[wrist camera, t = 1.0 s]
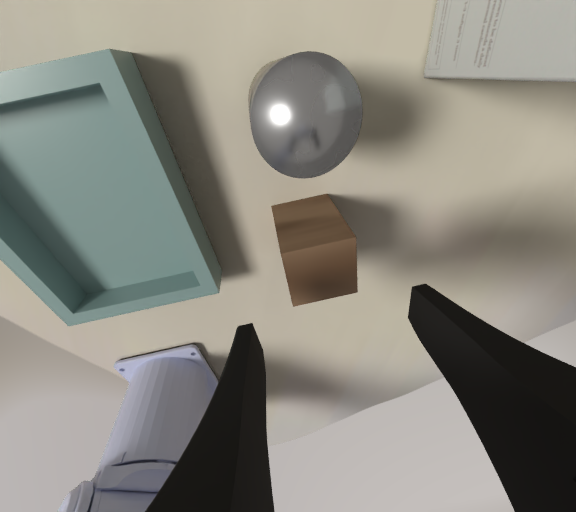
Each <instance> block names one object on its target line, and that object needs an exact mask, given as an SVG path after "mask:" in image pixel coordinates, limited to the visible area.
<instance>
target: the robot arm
mask: <svg viewBox="0 0 576 512" xmlns="http://www.w3.org/2000/svg"><path fill="white" fill-rule="evenodd" d="M408 319H409V321H410V323H411V325H412V327H413V329H414V331H415V332H416V334H417V336H418V338H419V340H420V341H421V343H422V344H423V346H424V347H425V349H426V350H427V352H428V353H429V355H430V356H431V358H432V359H433V361H434V362H435V364H436V365H437V367H438V368H439V370H440V371H441V373H442V374H443V375H444V377H445V378H446V380H447V381H448V383H449V384H450V386H451V387H452V389H453V391H454V392H455V394H456V395H457V397H458V399H459V401H460V403H461V404H462V406H463V408H464V410H465V411H466V413H467V415H468V417H469V419H470V421H471V423H472V424H473V426H474V428H475V430H476V432H477V434H478V436H479V438H480V440H481V442H482V443H483V445H484V447H485V450H486V452H487V454H488V456H489V458H490V460H491V462H492V464H493V466H494V468H495V470H496V472H497V474H498V476H499V478H500V480H501V482H502V484H503V487H504V489H505V491H506V493H507V495H508V497H509V500H510V502H511V504H512V506H513V508H514V511H515V512H576V367H574V366H571V365H569V364H567V363H565V362H562V361H560V360H558V359H555V358H553V357H551V356H549V355H547V354H545V353H542V352H540V351H538V350H536V349H534V348H532V347H530V346H528V345H526V344H524V343H522V342H520V341H518V340H516V339H515V338H513V337H511V336H509V335H507V334H505V333H504V332H502V331H500V330H498V329H496V328H495V327H493V326H491V325H489V324H488V323H486V322H484V321H483V320H481V319H479V318H478V317H476V316H474V315H473V314H471V313H470V312H468V311H466V310H465V309H463V308H462V307H460V306H459V305H457V304H456V303H454V302H453V301H451V300H450V299H448V298H446V297H445V296H443V295H442V294H441V293H439V292H438V291H436V290H435V289H433V288H431V287H430V286H428V285H427V284H422V285H418V286H413V287H412V291H411V299H410V306H409V314H408ZM114 368H115V369H116V370H117V371H118V372H119V373H120V374H121V375H122V376H123V377H124V378H125V379H126V380H127V381H128V382H129V386H128V388H127V391H126V394H125V396H124V399H123V402H122V404H121V407H120V410H119V413H118V416H117V418H116V421H115V424H114V426H113V429H112V431H111V434H110V437H109V440H108V442H107V445H106V448H105V450H104V453H103V456H102V459H101V461H100V464H99V467H98V469H97V472H96V475H95V477H94V478H93V479H92V480H91V481H83V482H81V483H80V484H79V485H78V487H76V488H75V489H73V490H72V491H71V492H69V493H68V494H67V496H66V497H65V499H64V501H63V502H62V504H61V506H60V508H59V509H58V511H57V512H274V504H273V496H272V487H271V477H270V468H269V457H268V446H267V432H266V372H265V362H264V354H263V349H262V347H261V344H260V342H259V339H258V336H257V334H256V331H255V329H254V326H253V324H252V323H250V324H246V325H241V326H238V328H237V330H236V334H235V337H234V341H233V344H232V347H231V350H230V353H229V356H228V359H227V362H226V364H225V367H224V370H223V372H222V375H221V378H220V380H219V381H218V379H217V378H216V376H215V375H214V373H213V371H212V370H211V368H210V367H209V365H208V363H207V362H206V360H205V359H204V357H203V355H202V354H201V352H200V351H199V349H198V347H197V346H196V345H187V346H182V347H178V348H173V349H169V350H164V351H160V352H155V353H151V354H146V355H142V356H137V357H133V358H128V359H124V360H119V361H116V362H115V364H114Z"/></svg>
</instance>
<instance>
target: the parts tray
mask: <svg viewBox="0 0 576 512" xmlns="http://www.w3.org/2000/svg"><path fill="white" fill-rule="evenodd" d="M0 260H1V261H2V262H3V263H4V264H5V265H6V266H7V267H8V268H10V269H11V270H12V271H13V272H14V273H15V274H16V275H17V276H18V277H19V278H20V279H21V280H22V281H23V282H24V283H25V284H26V285H27V286H28V287H29V288H30V289H31V290H32V291H33V292H34V293H35V294H36V295H37V296H38V297H39V298H40V299H41V300H42V301H43V302H44V303H45V304H46V305H47V306H48V307H49V308H50V309H51V310H52V311H53V312H54V313H55V314H56V315H57V316H58V317H60V318H61V319H62V320H63V321H64V322H65V323H66V324H67V325H68V326H72V325H77V324H81V323H86V322H90V321H95V320H99V319H104V318H108V317H113V316H117V315H122V314H126V313H131V312H135V311H140V310H144V309H149V308H153V307H158V306H162V305H167V304H171V303H176V302H180V301H185V300H189V299H194V298H198V297H203V296H208V295H212V294H217V293H219V291H220V282H221V274H222V270H221V267H220V265H219V263H218V260H217V258H216V255H215V253H214V251H213V248H212V246H211V243H210V241H209V238H208V236H207V234H206V231H205V229H204V226H203V224H202V222H201V219H200V217H199V214H198V212H197V210H196V207H195V205H194V202H193V200H192V197H191V195H190V193H189V190H188V188H187V185H186V183H185V181H184V178H183V176H182V173H181V171H180V169H179V166H178V164H177V161H176V159H175V156H174V154H173V152H172V149H171V147H170V144H169V142H168V140H167V137H166V135H165V132H164V130H163V128H162V125H161V123H160V120H159V118H158V115H157V113H156V111H155V108H154V106H153V103H152V101H151V99H150V96H149V94H148V91H147V89H146V87H145V84H144V82H143V79H142V77H141V74H140V72H139V70H138V67H137V65H136V62H135V60H134V58H133V55H132V53H131V52H125V51H119V50H113V49H106V50H101V51H97V52H92V53H87V54H83V55H78V56H73V57H68V58H64V59H59V60H54V61H50V62H45V63H40V64H36V65H31V66H26V67H22V68H17V69H12V70H8V71H3V72H0Z"/></svg>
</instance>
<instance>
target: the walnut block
mask: <svg viewBox="0 0 576 512" xmlns="http://www.w3.org/2000/svg"><path fill="white" fill-rule="evenodd" d="M271 207H272V212H273V217H274V222H275V227H276V232H277V237H278V242H279V247H280V252H281V257H282V261H283V265H284V269H285V274H286V278H287V282H288V287H289V291H290V295H291V299H292V304H293V307H294V306H298V305H303V304H307V303H312V302H316V301H321V300H325V299H330V298H334V297H339V296H343V295H348V294H352V293H356V292H357V252H356V236H355V235H354V233H353V232H352V230H351V229H350V227H349V226H348V224H347V223H346V221H345V220H344V218H343V217H342V215H341V214H340V212H339V211H338V209H337V208H336V206H335V205H334V203H333V202H332V200H331V199H330V197H329V196H328V194H323V195H319V196H314V197H310V198H305V199H301V200H296V201H292V202H287V203H282V204H278V205H273V206H271Z"/></svg>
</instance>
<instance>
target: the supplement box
mask: <svg viewBox="0 0 576 512" xmlns="http://www.w3.org/2000/svg"><path fill="white" fill-rule="evenodd" d="M424 77H425V78H447V79H487V80H520V81H558V82H576V0H437V5H436V10H435V16H434V21H433V27H432V32H431V38H430V43H429V49H428V54H427V60H426V65H425V71H424Z"/></svg>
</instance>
